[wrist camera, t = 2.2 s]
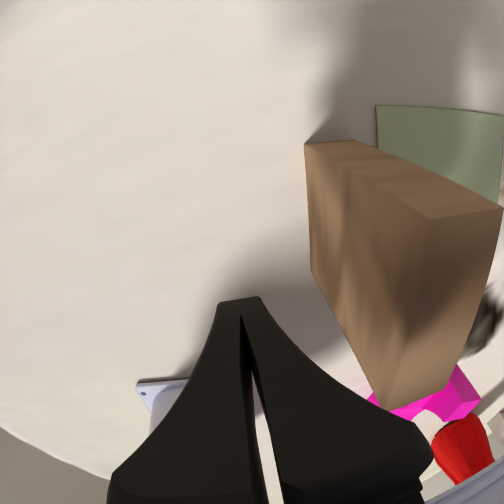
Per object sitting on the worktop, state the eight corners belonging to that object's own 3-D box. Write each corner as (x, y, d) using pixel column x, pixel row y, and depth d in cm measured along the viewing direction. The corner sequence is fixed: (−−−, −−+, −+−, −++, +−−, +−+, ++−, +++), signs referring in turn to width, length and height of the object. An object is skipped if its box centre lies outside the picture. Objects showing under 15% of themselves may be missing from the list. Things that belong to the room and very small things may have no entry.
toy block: (409, 345, 25) (448, 404, 19) (445, 349, 27) (481, 399, 21) (330, 435, 31) (348, 487, 25) (369, 432, 33) (389, 479, 26)
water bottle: (480, 399, 37) (542, 508, 14) (465, 427, 42) (514, 522, 20) (435, 426, 37) (493, 546, 15) (425, 450, 42) (470, 551, 20)
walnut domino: (353, 262, 20) (444, 389, 10) (310, 271, 20) (383, 413, 10) (353, 140, 16) (503, 207, 7) (303, 144, 16) (429, 219, 6)
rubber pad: (485, 254, 22) (486, 256, 22) (371, 283, 21) (372, 285, 21) (502, 115, 16) (503, 116, 16) (375, 105, 15) (377, 105, 15)
